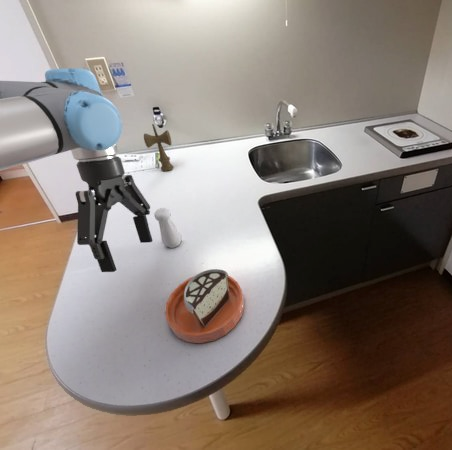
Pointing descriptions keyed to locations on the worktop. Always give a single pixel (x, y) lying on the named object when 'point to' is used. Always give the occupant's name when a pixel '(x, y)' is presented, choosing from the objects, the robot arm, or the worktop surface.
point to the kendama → (160, 147)
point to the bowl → (188, 323)
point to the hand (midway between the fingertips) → (129, 255)
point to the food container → (207, 294)
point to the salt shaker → (167, 228)
